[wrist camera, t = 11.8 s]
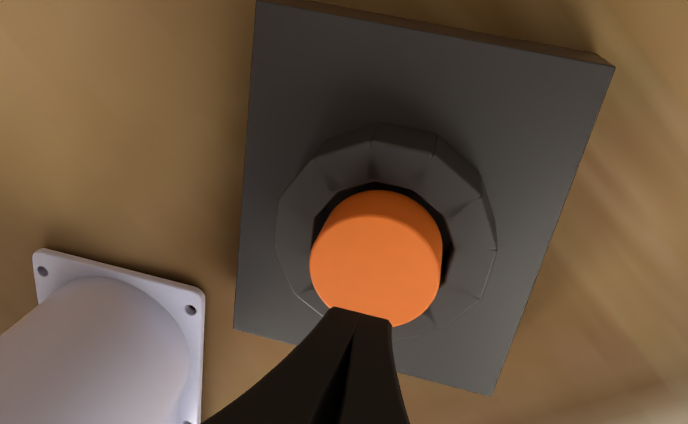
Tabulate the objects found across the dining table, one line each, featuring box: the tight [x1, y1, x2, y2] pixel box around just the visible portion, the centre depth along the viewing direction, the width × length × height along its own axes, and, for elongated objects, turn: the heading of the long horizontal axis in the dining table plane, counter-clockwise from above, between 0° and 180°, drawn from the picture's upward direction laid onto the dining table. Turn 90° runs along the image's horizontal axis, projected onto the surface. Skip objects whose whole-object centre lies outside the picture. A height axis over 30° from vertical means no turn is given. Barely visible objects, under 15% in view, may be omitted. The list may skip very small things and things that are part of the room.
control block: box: [233, 0, 615, 397], centre depth 17 cm, size 12×10×4 cm
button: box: [309, 190, 442, 327], centre depth 15 cm, size 4×4×2 cm
